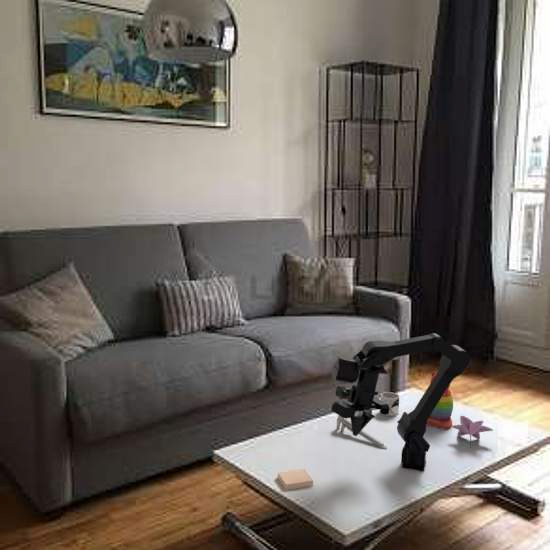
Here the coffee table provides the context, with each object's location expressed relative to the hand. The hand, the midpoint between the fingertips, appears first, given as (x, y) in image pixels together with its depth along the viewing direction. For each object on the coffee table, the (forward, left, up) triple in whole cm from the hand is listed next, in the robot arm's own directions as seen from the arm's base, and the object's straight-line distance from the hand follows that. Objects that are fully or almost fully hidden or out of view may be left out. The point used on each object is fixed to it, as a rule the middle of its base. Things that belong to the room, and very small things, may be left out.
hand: (354, 435), depth 184 cm
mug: (-4, -48, -11) cm, 50 cm away
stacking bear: (-21, -44, -11) cm, 50 cm away
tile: (+11, +11, -10) cm, 18 cm away
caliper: (+2, -21, -11) cm, 24 cm away
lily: (-32, -31, -11) cm, 46 cm away
